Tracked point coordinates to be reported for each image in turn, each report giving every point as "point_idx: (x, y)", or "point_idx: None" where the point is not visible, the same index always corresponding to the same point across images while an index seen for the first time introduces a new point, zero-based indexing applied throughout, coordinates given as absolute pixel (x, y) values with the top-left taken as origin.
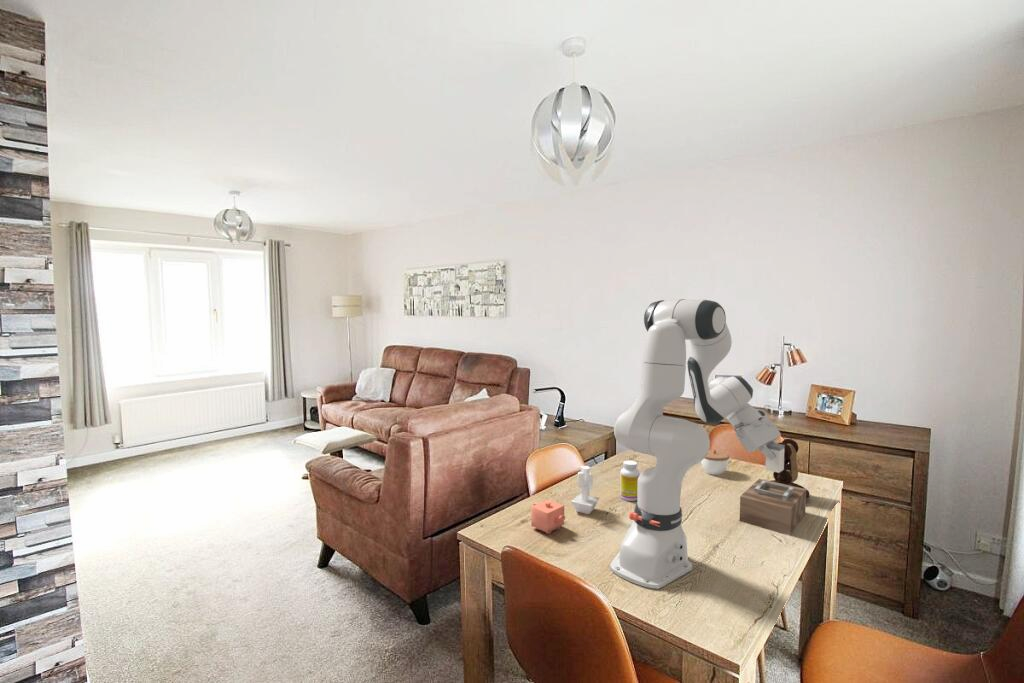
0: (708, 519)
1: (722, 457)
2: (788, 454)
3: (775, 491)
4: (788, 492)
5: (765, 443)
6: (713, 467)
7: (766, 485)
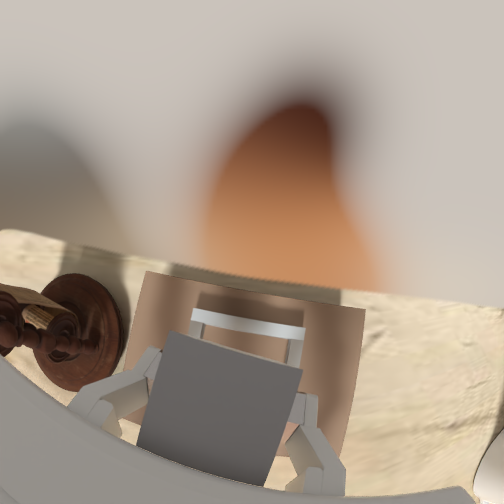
0: (346, 488)
1: None
2: (12, 306)
3: None
4: (259, 323)
5: (323, 496)
6: None
7: None
